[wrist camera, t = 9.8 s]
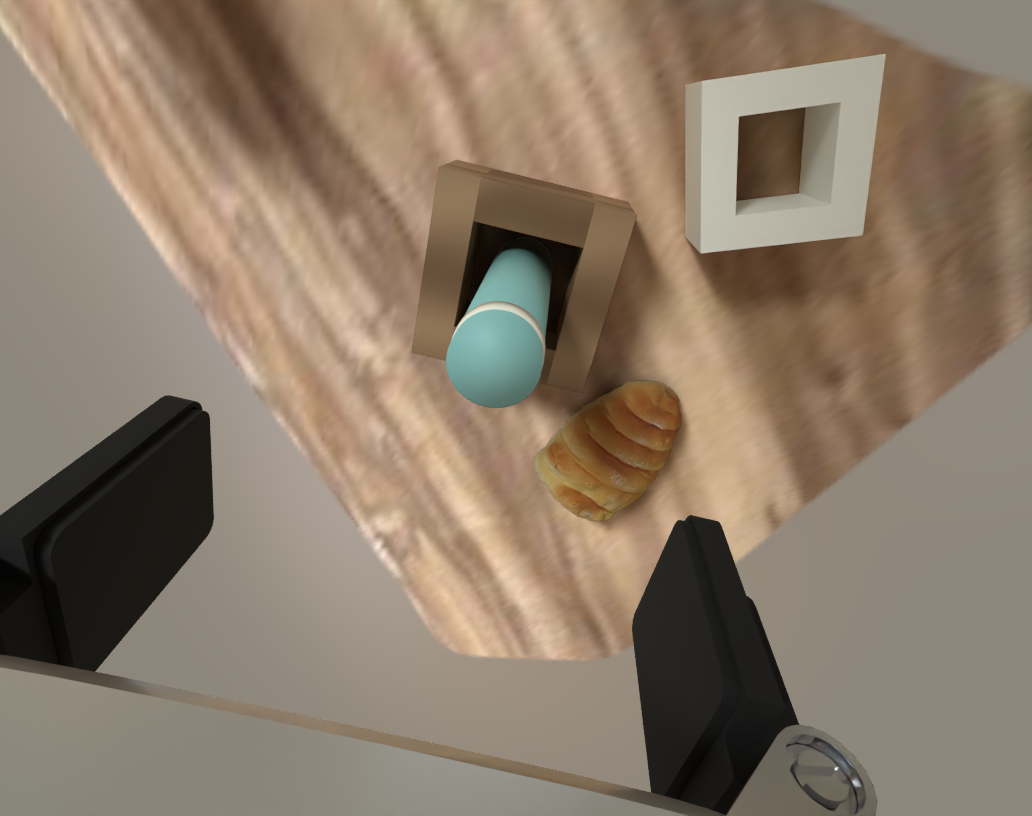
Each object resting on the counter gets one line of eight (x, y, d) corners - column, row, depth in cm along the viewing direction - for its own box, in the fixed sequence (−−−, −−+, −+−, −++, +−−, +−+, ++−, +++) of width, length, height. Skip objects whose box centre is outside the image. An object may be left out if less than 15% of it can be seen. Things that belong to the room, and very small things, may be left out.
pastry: (619, 347, 34) (624, 374, 30) (707, 409, 35) (722, 441, 32) (526, 457, 38) (522, 492, 34) (609, 509, 39) (613, 547, 36)
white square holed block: (685, 85, 27) (701, 80, 24) (843, 61, 26) (885, 53, 23) (685, 236, 30) (700, 253, 27) (827, 220, 30) (862, 235, 26)
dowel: (500, 229, 31) (453, 306, 19) (560, 244, 31) (554, 330, 19) (488, 288, 33) (437, 396, 20) (545, 302, 33) (530, 418, 20)
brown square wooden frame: (456, 159, 30) (438, 167, 26) (627, 202, 30) (636, 215, 26) (430, 324, 34) (411, 352, 30) (581, 360, 34) (582, 393, 30)
